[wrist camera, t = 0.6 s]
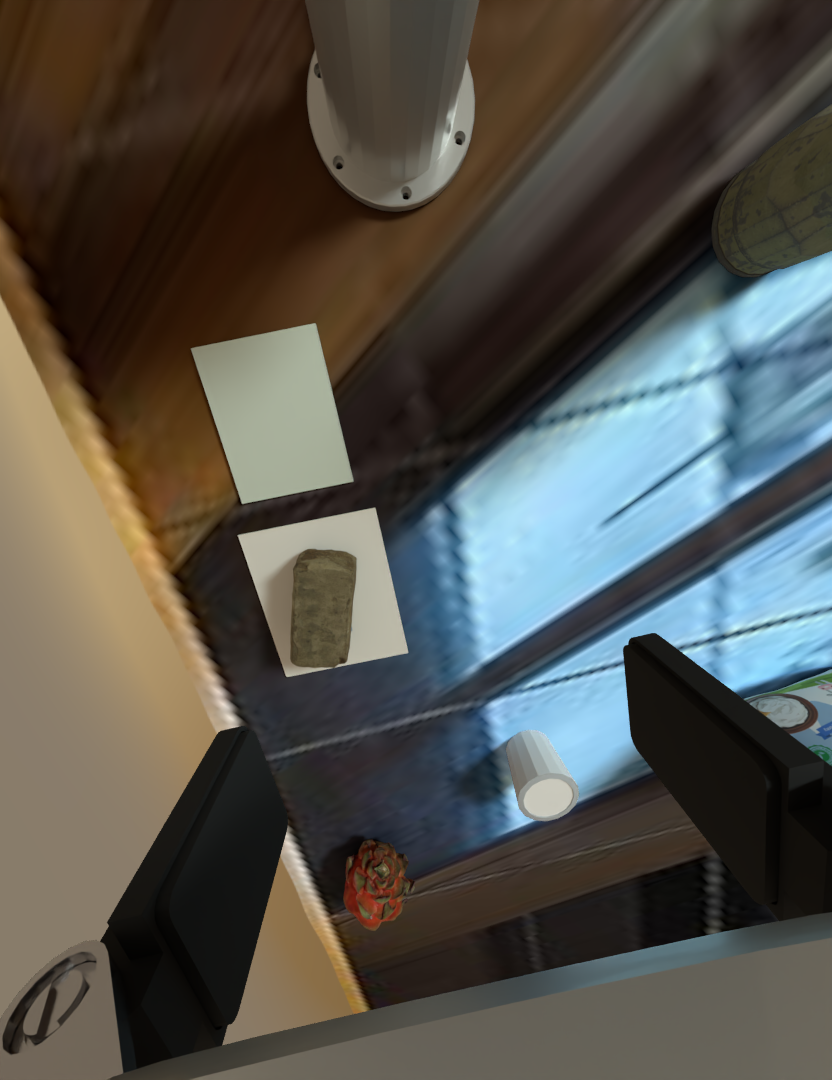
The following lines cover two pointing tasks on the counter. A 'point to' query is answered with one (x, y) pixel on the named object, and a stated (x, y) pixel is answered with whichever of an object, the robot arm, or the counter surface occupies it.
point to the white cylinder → (540, 777)
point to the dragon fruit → (376, 883)
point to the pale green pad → (275, 412)
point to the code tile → (374, 591)
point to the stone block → (322, 608)
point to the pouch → (802, 712)
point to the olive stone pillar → (779, 204)
